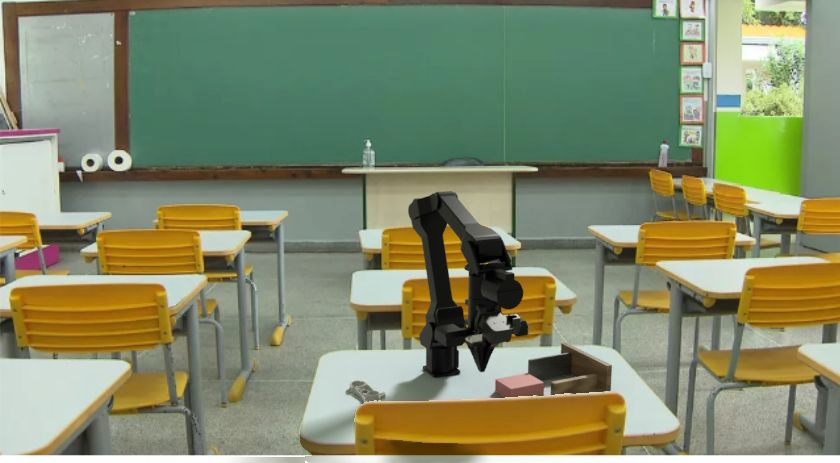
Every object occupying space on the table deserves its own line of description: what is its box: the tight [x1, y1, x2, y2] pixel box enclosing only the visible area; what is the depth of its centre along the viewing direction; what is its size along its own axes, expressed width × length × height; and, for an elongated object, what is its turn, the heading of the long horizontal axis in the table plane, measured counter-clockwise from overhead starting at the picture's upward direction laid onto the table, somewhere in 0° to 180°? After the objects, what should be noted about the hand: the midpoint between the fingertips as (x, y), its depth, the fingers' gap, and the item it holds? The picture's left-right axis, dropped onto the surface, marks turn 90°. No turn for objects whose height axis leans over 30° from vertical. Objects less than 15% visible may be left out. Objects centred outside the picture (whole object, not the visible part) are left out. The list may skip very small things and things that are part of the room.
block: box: [494, 372, 545, 398], centre depth 157 cm, size 8×6×3 cm
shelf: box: [527, 342, 613, 395], centre depth 161 cm, size 12×16×6 cm
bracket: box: [349, 380, 387, 403], centre depth 153 cm, size 8×2×15 cm
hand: (481, 371), depth 152 cm, fingers closed
